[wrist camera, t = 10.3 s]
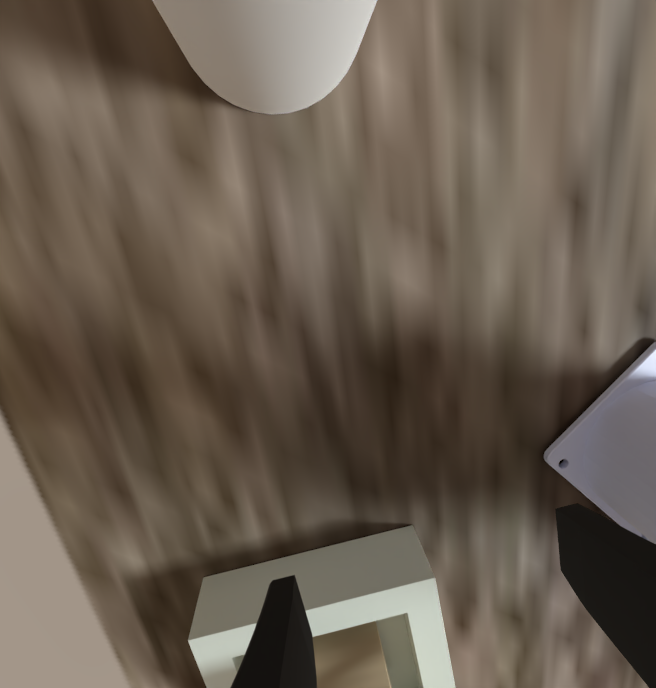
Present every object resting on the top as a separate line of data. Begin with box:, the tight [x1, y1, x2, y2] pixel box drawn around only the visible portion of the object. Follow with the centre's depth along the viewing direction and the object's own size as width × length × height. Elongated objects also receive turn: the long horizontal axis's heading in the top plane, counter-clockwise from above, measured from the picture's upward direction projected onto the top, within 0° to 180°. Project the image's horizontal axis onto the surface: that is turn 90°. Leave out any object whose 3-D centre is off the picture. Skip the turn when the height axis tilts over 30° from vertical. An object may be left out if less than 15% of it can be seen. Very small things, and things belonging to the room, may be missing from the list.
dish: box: [188, 525, 455, 688], centre depth 22 cm, size 11×11×4 cm
